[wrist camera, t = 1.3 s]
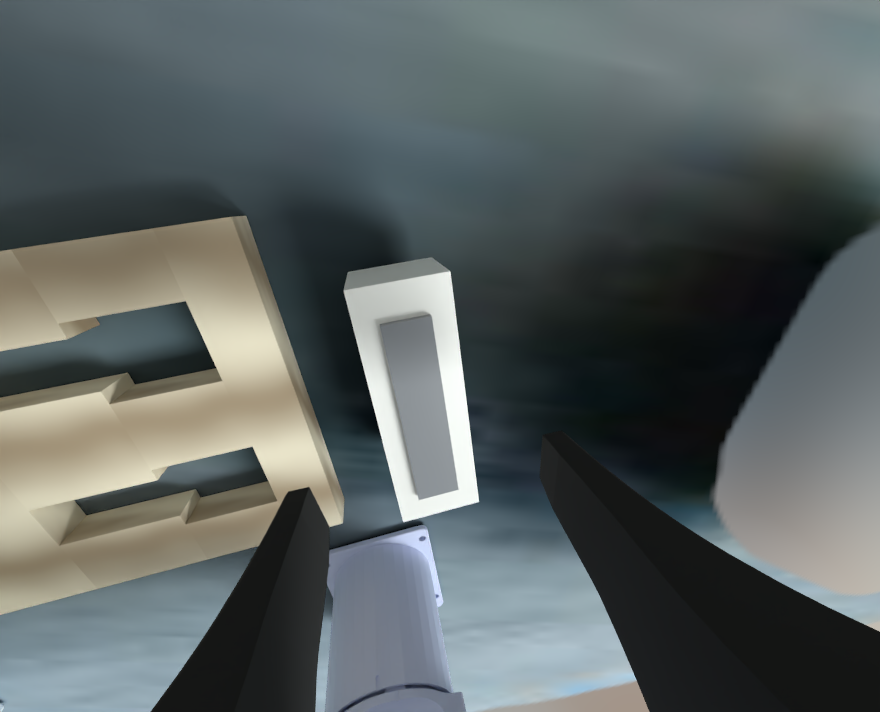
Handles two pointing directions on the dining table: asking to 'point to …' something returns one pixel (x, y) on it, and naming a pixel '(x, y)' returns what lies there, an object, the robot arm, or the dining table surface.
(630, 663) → the robot arm
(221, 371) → the keyhole board
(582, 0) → the dining table surface
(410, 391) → the white and grey block
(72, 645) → the dining table surface
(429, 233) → the dining table surface
